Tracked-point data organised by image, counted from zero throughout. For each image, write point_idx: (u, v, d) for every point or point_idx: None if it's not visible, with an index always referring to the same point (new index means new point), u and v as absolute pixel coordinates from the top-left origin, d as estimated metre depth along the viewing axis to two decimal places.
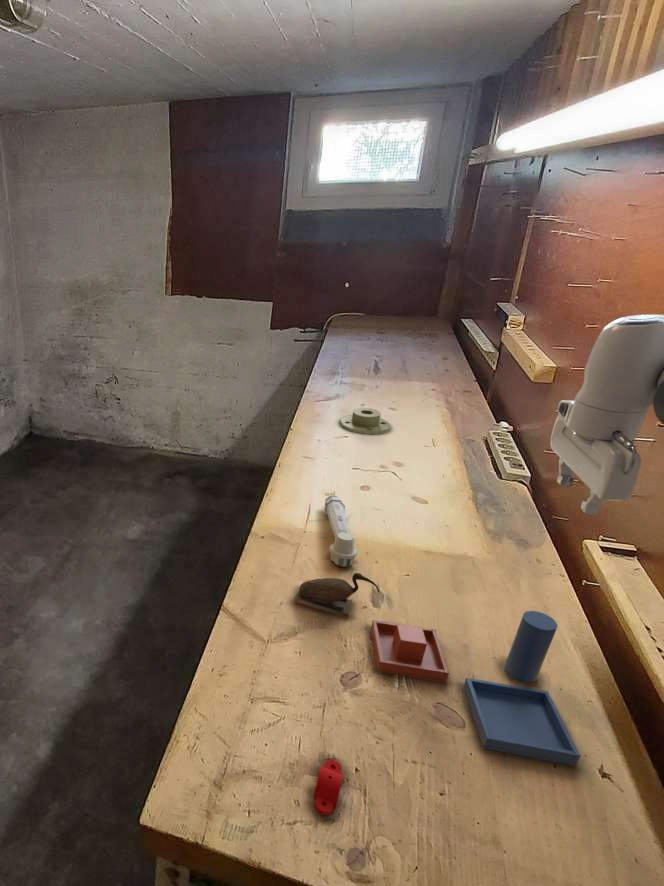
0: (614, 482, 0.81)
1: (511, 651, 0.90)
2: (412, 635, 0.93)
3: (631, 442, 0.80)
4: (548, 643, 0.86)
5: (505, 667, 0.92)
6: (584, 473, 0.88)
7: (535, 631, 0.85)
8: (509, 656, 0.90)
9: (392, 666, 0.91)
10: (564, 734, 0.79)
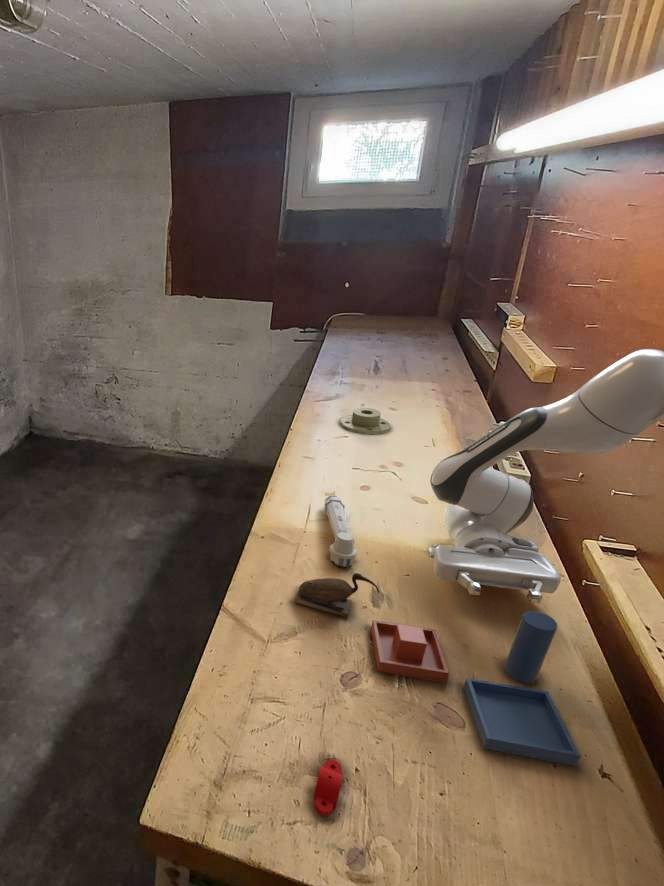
0: (433, 566, 1.09)
1: (511, 651, 0.90)
2: (412, 635, 0.93)
3: (435, 546, 1.13)
4: (548, 643, 0.86)
5: (505, 667, 0.92)
6: None
7: (535, 631, 0.85)
8: (509, 656, 0.90)
9: (392, 666, 0.91)
10: (564, 734, 0.79)
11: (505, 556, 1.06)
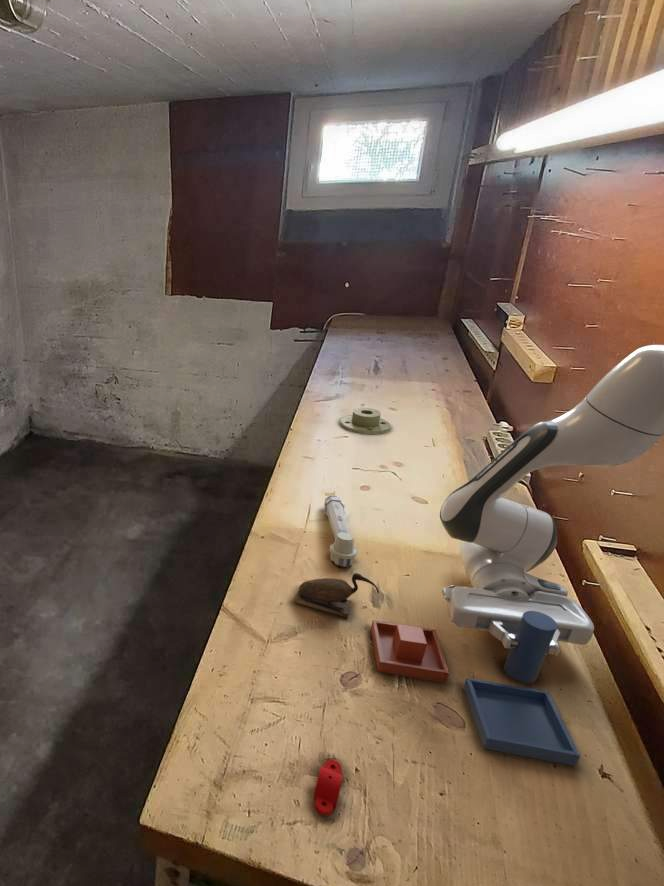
0: (449, 610, 0.97)
1: (511, 651, 0.90)
2: (412, 635, 0.93)
3: None
4: (548, 643, 0.86)
5: (505, 667, 0.92)
6: None
7: (535, 631, 0.85)
8: (509, 656, 0.90)
9: (392, 666, 0.91)
10: (564, 734, 0.79)
11: (530, 600, 0.95)
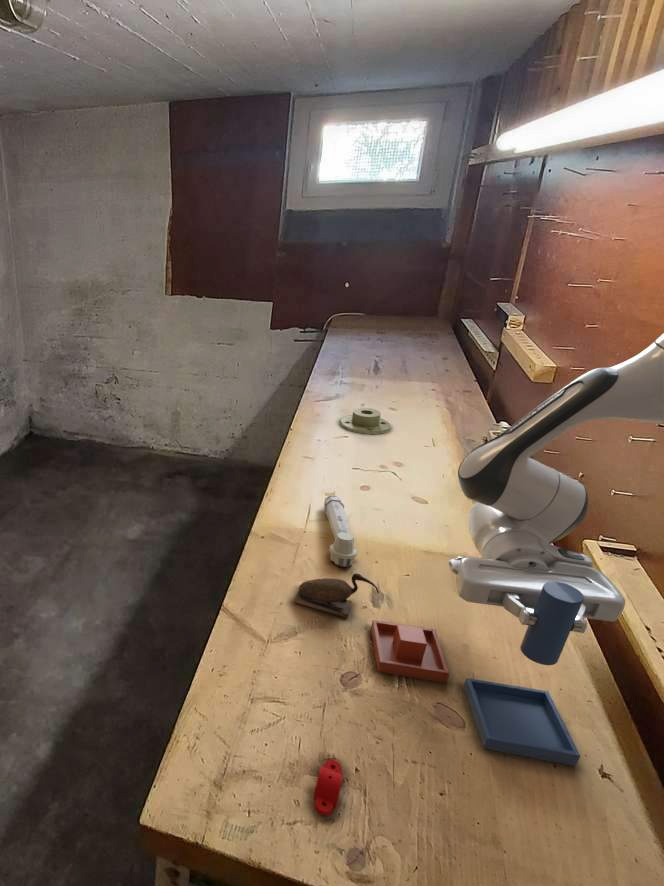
0: (457, 584, 0.85)
1: (529, 628, 0.78)
2: (412, 635, 0.93)
3: None
4: (573, 618, 0.74)
5: (521, 647, 0.80)
6: None
7: (558, 604, 0.73)
8: (526, 634, 0.78)
9: (392, 666, 0.91)
10: (564, 734, 0.79)
11: (550, 572, 0.83)
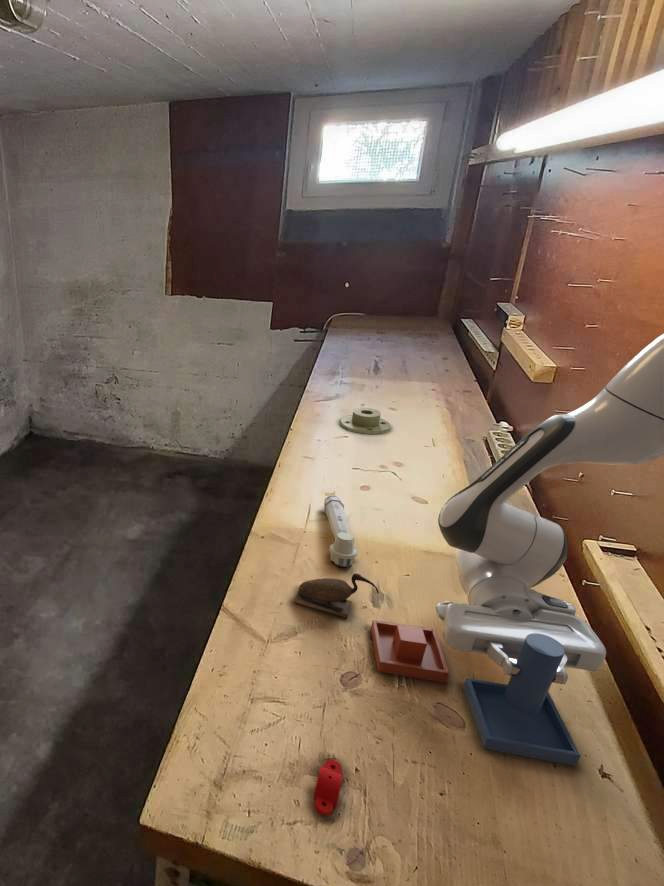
0: (443, 630, 0.87)
1: (512, 678, 0.80)
2: (412, 635, 0.93)
3: None
4: (554, 671, 0.75)
5: (505, 695, 0.81)
6: None
7: (539, 658, 0.75)
8: (510, 683, 0.80)
9: (392, 666, 0.91)
10: (564, 734, 0.79)
11: (534, 620, 0.85)
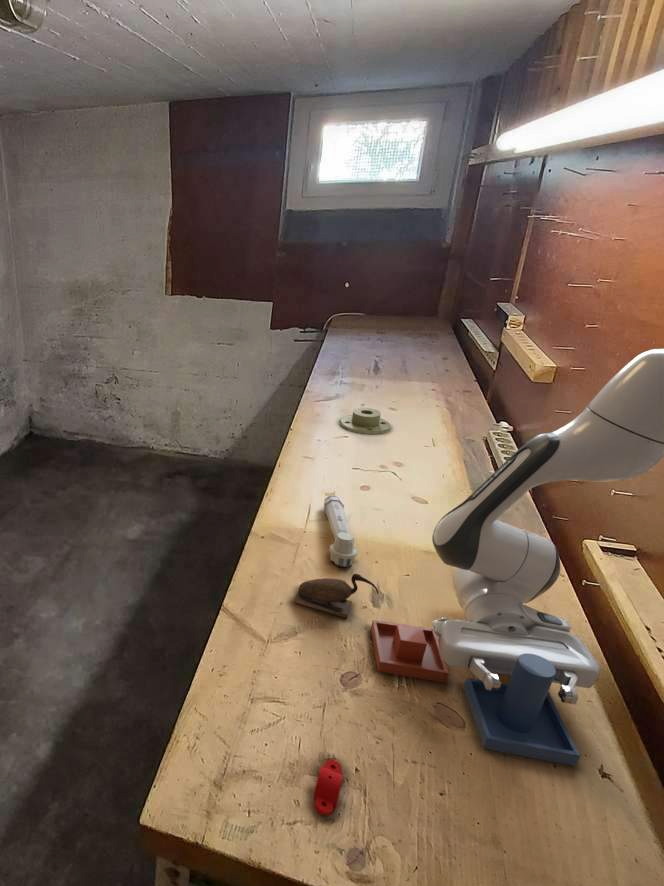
0: (439, 647, 0.88)
1: (505, 697, 0.81)
2: (412, 635, 0.93)
3: None
4: (546, 691, 0.77)
5: (498, 714, 0.83)
6: None
7: (531, 678, 0.77)
8: (503, 702, 0.82)
9: (392, 666, 0.91)
10: (564, 734, 0.79)
11: (529, 637, 0.86)
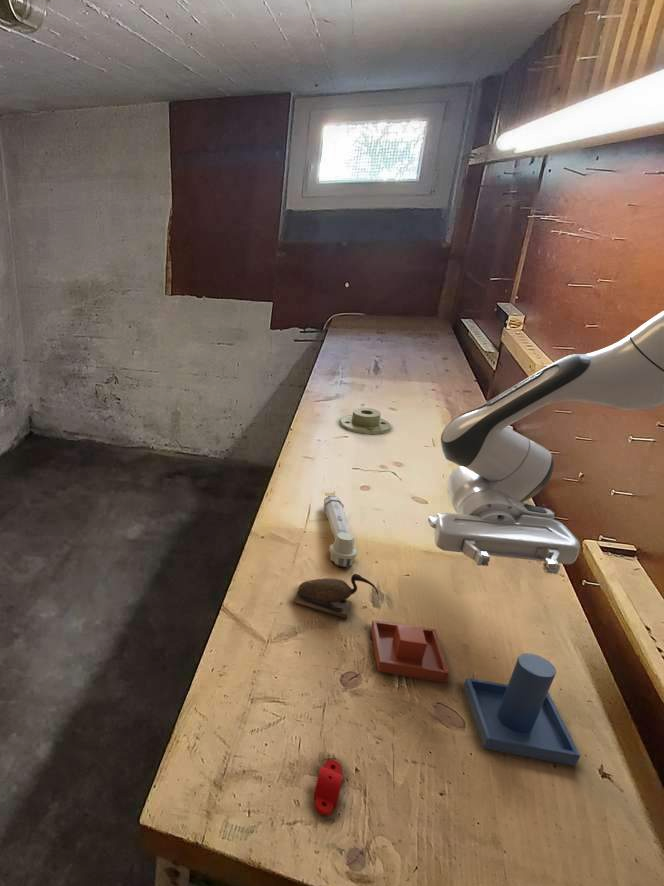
0: (434, 536, 0.96)
1: (505, 697, 0.81)
2: (412, 635, 0.93)
3: (437, 515, 1.01)
4: (546, 691, 0.77)
5: (498, 714, 0.83)
6: None
7: (531, 678, 0.77)
8: (503, 702, 0.82)
9: (392, 666, 0.91)
10: (564, 734, 0.79)
11: (516, 524, 0.94)
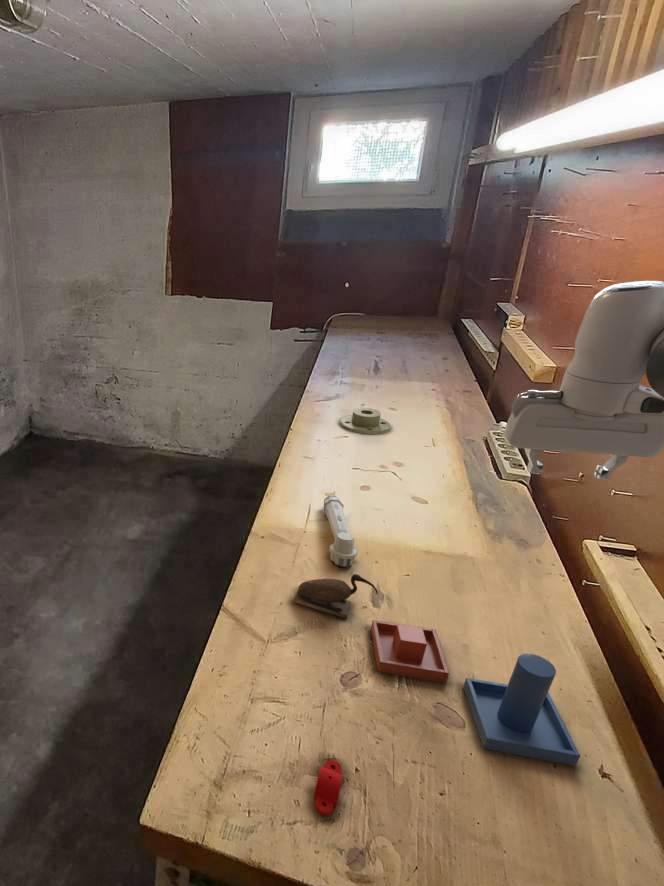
0: (508, 422, 0.90)
1: (505, 697, 0.81)
2: (412, 635, 0.93)
3: (531, 390, 0.86)
4: (546, 691, 0.77)
5: (498, 714, 0.83)
6: None
7: (531, 678, 0.77)
8: (503, 702, 0.82)
9: (392, 666, 0.91)
10: (564, 734, 0.79)
11: (612, 420, 0.84)
